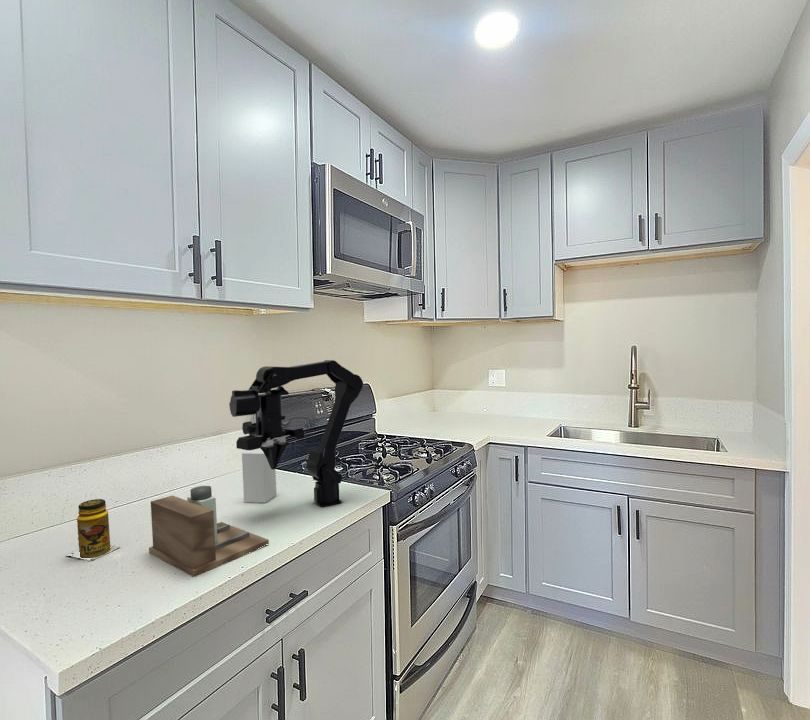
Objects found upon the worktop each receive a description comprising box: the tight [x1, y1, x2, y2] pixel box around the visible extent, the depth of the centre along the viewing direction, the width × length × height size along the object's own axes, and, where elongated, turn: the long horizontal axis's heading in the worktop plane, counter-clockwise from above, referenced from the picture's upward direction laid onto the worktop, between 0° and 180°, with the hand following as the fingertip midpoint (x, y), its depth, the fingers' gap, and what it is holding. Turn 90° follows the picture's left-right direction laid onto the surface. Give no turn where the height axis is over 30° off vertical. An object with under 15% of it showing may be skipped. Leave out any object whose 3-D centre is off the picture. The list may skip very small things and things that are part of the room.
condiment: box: [70, 498, 120, 562], centre depth 110 cm, size 7×8×12 cm
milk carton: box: [241, 438, 278, 504], centre depth 144 cm, size 7×7×19 cm
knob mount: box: [148, 494, 270, 577], centre depth 109 cm, size 18×20×12 cm
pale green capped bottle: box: [186, 485, 218, 544], centre depth 108 cm, size 4×6×13 cm
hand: (273, 469), depth 129 cm, fingers closed
